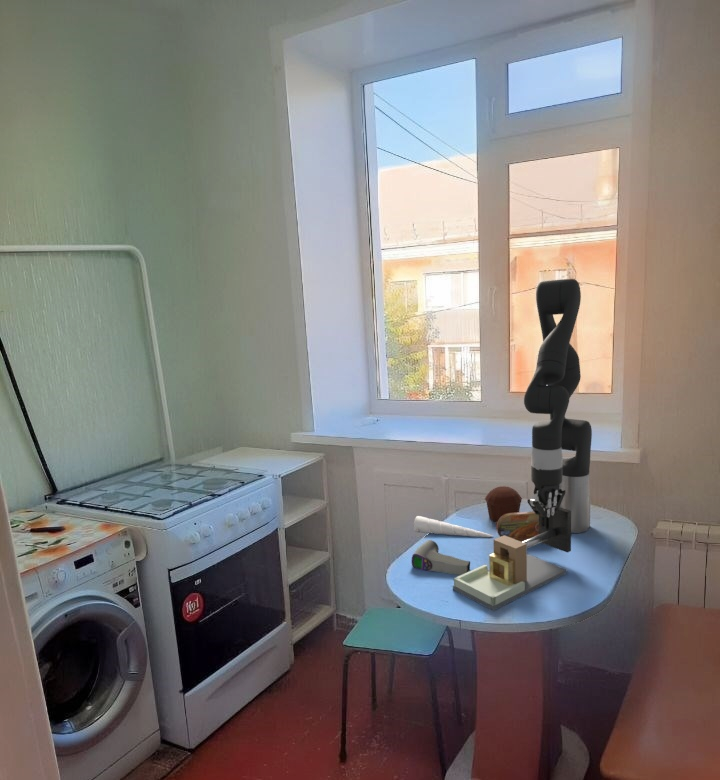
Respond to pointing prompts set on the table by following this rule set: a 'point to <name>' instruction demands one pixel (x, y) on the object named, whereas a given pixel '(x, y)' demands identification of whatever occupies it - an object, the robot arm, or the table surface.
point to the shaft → (554, 532)
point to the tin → (519, 525)
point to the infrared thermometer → (437, 560)
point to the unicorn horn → (444, 528)
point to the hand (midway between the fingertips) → (546, 529)
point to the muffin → (502, 502)
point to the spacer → (508, 569)
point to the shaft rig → (494, 593)
